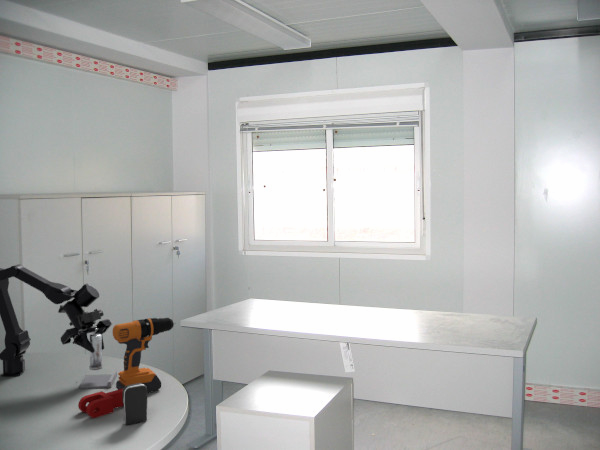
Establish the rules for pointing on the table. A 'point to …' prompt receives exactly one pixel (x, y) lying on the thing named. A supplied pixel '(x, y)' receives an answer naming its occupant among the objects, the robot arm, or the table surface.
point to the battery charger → (134, 403)
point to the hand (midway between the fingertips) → (98, 350)
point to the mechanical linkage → (101, 403)
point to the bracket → (98, 381)
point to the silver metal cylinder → (96, 352)
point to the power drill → (139, 350)
